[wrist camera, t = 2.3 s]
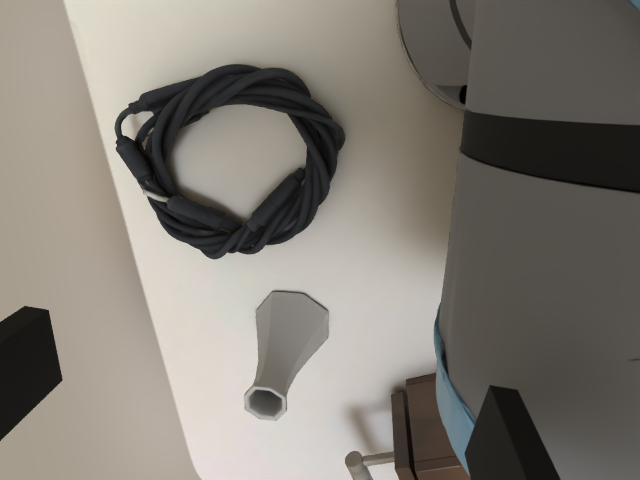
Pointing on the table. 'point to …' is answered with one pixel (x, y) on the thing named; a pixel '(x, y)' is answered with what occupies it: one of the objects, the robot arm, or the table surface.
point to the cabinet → (430, 434)
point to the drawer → (401, 447)
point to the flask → (283, 349)
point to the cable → (189, 106)
